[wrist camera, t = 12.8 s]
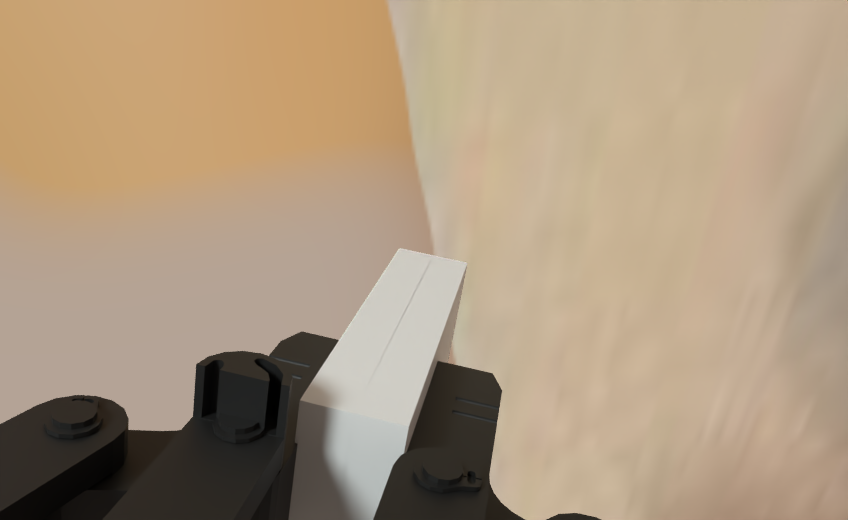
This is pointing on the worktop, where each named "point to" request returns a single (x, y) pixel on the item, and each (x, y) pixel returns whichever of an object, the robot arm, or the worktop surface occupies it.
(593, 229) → the worktop surface
